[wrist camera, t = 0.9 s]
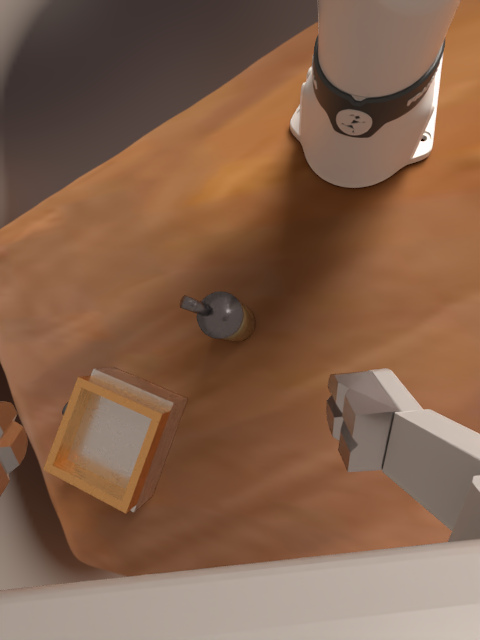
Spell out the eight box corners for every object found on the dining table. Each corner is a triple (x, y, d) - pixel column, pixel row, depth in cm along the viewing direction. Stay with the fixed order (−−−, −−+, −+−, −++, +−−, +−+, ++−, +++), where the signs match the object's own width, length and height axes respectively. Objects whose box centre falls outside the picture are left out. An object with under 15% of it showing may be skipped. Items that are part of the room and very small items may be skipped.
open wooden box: (97, 360, 50) (61, 360, 43) (187, 398, 47) (165, 405, 39) (63, 451, 49) (21, 467, 42) (152, 496, 46) (122, 522, 39)
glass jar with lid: (215, 296, 47) (185, 276, 36) (261, 311, 46) (245, 296, 34) (202, 331, 47) (168, 322, 36) (248, 347, 46) (227, 344, 34)
